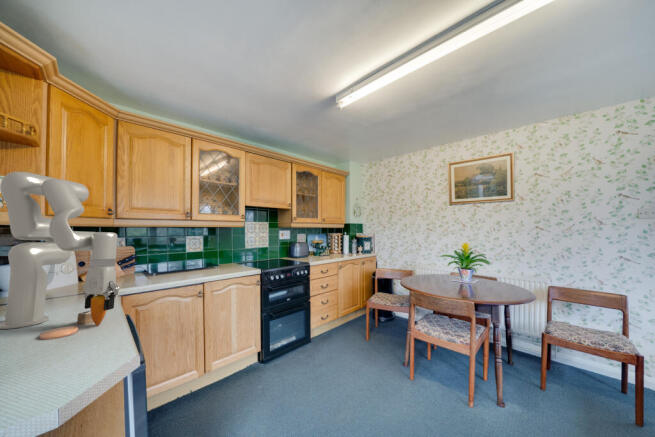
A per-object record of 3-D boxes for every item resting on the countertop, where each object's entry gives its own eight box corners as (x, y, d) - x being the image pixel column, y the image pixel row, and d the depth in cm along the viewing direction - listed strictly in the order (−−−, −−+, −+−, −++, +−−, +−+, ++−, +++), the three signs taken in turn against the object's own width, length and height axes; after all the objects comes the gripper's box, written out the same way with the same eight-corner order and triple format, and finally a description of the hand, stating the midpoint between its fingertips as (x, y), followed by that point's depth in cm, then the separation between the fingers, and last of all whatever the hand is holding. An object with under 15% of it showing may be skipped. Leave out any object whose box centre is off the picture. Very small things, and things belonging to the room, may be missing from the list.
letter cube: (77, 324, 95) (78, 312, 95) (89, 320, 99) (90, 309, 99) (84, 325, 94) (85, 313, 94) (96, 321, 98) (97, 310, 98)
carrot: (95, 328, 90) (98, 287, 91) (84, 327, 91) (88, 286, 92) (109, 324, 95) (112, 285, 96) (99, 323, 96) (102, 284, 97)
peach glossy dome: (32, 338, 81) (32, 334, 81) (66, 328, 90) (67, 325, 90) (51, 340, 79) (51, 337, 79) (84, 330, 88) (84, 327, 88)
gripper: (75, 264, 93) (70, 309, 92) (108, 265, 89) (104, 313, 88) (97, 262, 101) (93, 304, 99) (129, 263, 97) (126, 307, 95)
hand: (99, 308), depth 93 cm, fingers open, 9 cm apart
